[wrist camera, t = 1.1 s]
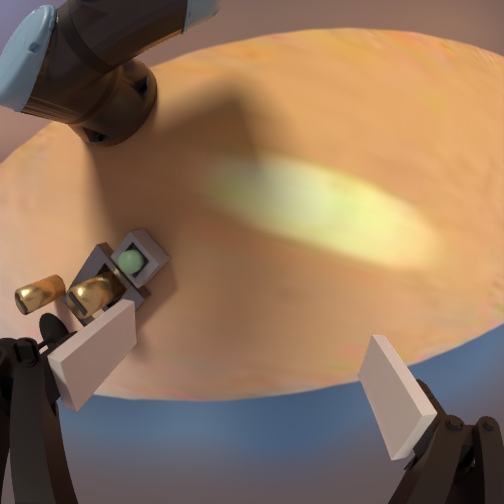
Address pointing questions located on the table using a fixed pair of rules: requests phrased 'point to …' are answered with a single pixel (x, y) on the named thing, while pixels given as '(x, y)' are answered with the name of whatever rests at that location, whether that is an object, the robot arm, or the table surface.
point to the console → (150, 251)
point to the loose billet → (39, 294)
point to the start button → (131, 261)
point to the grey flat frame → (97, 266)
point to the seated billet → (94, 294)
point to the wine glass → (42, 333)
